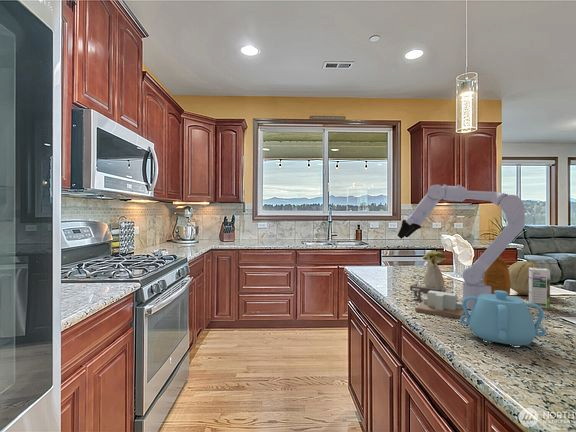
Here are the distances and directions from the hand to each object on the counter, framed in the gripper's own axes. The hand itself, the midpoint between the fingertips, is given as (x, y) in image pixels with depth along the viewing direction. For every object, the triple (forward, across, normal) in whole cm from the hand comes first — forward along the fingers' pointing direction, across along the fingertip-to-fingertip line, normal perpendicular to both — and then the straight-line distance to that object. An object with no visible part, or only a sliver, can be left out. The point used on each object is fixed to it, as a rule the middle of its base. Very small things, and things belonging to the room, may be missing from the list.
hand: (402, 236), depth 138 cm
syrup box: (-7, -18, +53) cm, 56 cm away
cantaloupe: (-4, -36, +50) cm, 62 cm away
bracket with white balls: (+15, -3, +23) cm, 27 cm away
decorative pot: (-1, +32, +45) cm, 55 cm away
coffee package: (+2, -16, +42) cm, 45 cm away
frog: (+15, -18, +23) cm, 33 cm away
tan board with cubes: (+10, +12, +29) cm, 33 cm away
